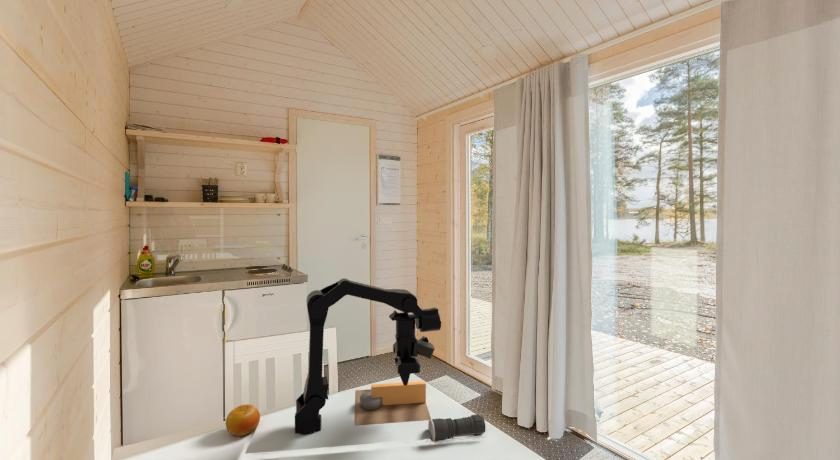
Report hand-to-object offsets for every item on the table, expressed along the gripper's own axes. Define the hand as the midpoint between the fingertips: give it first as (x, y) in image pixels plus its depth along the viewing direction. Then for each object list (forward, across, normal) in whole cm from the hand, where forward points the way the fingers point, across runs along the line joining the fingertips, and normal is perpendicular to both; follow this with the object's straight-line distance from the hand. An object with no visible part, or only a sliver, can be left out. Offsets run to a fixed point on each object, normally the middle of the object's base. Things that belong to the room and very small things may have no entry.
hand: (405, 384), depth 120 cm
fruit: (+11, 0, +46) cm, 47 cm away
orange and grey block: (+9, +6, +3) cm, 11 cm away
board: (+10, +6, +4) cm, 13 cm away
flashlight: (+11, -11, -13) cm, 20 cm away
